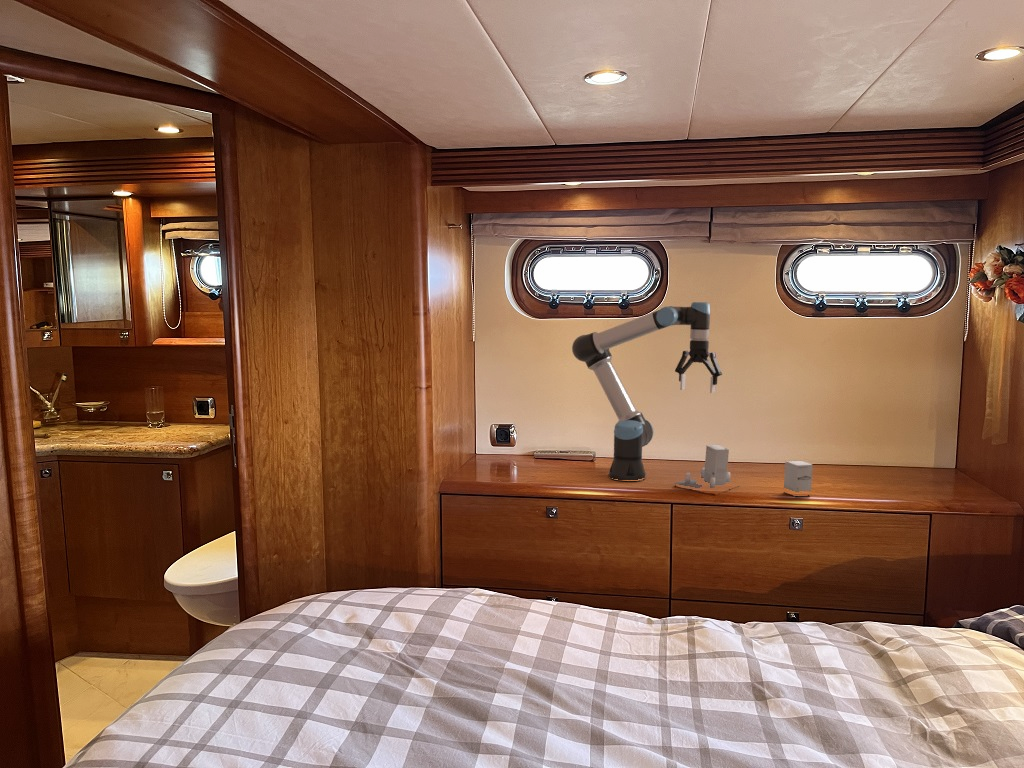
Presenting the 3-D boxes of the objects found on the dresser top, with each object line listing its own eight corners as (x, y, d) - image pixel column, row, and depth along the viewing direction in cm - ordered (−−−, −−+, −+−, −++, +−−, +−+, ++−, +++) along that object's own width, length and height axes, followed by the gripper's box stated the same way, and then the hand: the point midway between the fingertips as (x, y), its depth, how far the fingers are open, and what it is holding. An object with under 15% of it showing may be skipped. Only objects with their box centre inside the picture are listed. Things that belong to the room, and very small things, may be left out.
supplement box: (794, 497, 283) (796, 465, 281) (782, 492, 290) (784, 461, 288) (811, 496, 285) (813, 464, 283) (799, 491, 292) (801, 460, 290)
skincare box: (703, 481, 301) (704, 444, 299) (716, 480, 303) (718, 444, 301) (714, 486, 293) (715, 449, 291) (727, 485, 295) (729, 448, 293)
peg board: (674, 486, 297) (675, 473, 297) (699, 478, 312) (699, 465, 311) (716, 495, 285) (717, 481, 284) (739, 485, 300) (740, 472, 299)
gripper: (732, 341, 300) (729, 393, 303) (677, 338, 317) (675, 387, 319) (723, 341, 295) (721, 394, 297) (667, 338, 311) (666, 389, 314)
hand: (697, 391), depth 308 cm, fingers open, 13 cm apart
